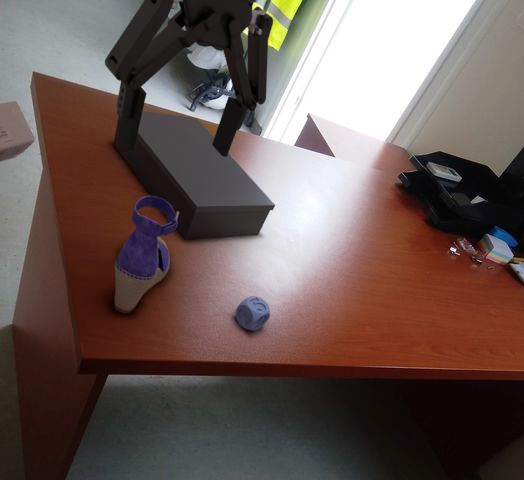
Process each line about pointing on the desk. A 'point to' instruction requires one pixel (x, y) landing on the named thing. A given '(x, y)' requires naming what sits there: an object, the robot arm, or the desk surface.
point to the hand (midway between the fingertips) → (175, 147)
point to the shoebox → (195, 178)
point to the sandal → (143, 255)
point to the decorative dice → (252, 313)
